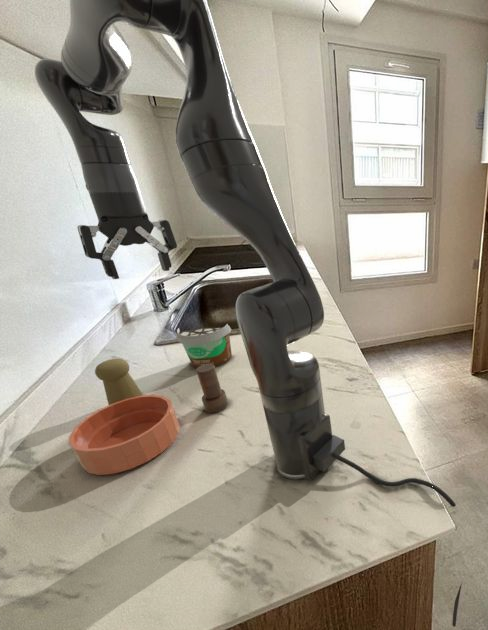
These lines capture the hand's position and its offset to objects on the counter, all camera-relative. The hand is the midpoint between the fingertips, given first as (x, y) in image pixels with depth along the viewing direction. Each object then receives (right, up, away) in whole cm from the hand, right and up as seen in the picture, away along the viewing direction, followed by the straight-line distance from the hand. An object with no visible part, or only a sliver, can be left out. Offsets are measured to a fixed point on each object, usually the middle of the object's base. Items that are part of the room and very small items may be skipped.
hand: (142, 274), depth 68 cm
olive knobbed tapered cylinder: (-6, -28, +4) cm, 29 cm away
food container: (+2, -22, +18) cm, 28 cm away
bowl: (+4, -33, -6) cm, 34 cm away
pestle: (+13, -28, +4) cm, 31 cm away
